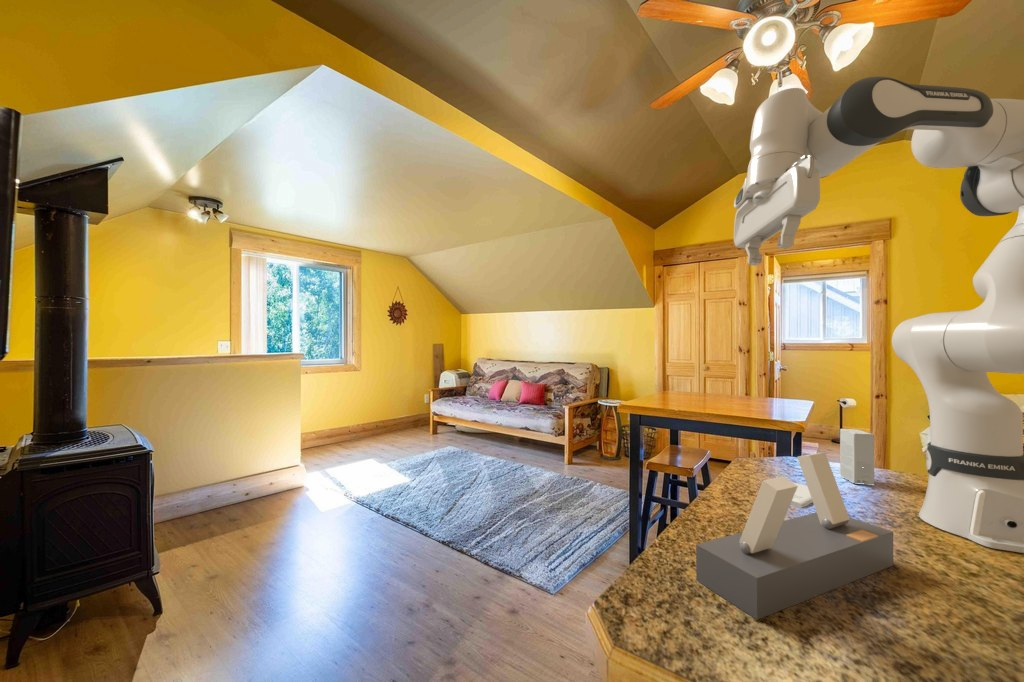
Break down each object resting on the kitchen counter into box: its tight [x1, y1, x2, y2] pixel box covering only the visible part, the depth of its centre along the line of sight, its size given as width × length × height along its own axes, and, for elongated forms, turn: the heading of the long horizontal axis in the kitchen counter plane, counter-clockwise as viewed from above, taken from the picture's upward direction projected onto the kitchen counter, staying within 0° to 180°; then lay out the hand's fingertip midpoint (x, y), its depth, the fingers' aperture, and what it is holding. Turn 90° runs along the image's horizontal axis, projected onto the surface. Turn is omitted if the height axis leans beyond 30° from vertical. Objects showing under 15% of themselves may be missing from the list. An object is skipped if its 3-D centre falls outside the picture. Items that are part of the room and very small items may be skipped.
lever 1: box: [739, 476, 798, 554], centre depth 55 cm, size 2×4×11 cm, turn 114°
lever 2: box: [797, 452, 850, 529], centre depth 65 cm, size 2×4×11 cm, turn 113°
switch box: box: [695, 512, 894, 620], centre depth 60 cm, size 9×30×5 cm, turn 114°
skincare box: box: [839, 428, 875, 485], centre depth 99 cm, size 6×4×12 cm
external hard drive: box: [790, 481, 813, 509], centre depth 90 cm, size 2×8×12 cm
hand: (768, 256), depth 72 cm, fingers open, 8 cm apart
